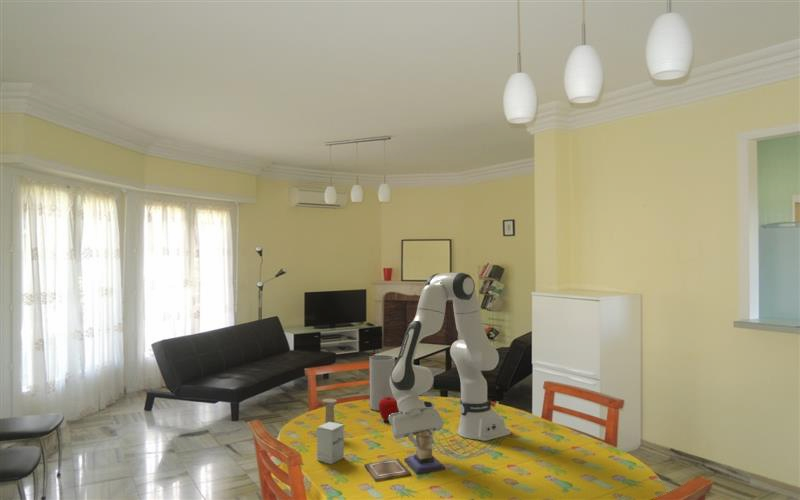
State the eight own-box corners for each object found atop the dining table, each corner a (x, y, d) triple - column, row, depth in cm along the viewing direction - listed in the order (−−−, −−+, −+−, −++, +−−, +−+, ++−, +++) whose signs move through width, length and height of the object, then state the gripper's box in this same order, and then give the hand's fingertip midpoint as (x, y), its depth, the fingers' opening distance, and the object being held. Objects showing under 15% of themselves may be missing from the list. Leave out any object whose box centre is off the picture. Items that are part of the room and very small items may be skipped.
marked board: (398, 460, 189) (398, 458, 189) (411, 475, 177) (411, 472, 177) (364, 466, 184) (364, 463, 184) (375, 481, 172) (375, 478, 172)
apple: (387, 425, 228) (387, 400, 228) (374, 420, 236) (374, 396, 236) (404, 420, 235) (403, 396, 235) (390, 415, 242) (390, 392, 242)
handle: (332, 439, 212) (331, 403, 212) (320, 436, 215) (320, 400, 215) (339, 435, 216) (339, 400, 216) (327, 432, 219) (327, 397, 219)
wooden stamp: (428, 456, 188) (427, 428, 189) (434, 461, 183) (434, 433, 183) (414, 458, 187) (413, 430, 187) (419, 464, 181) (419, 436, 181)
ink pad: (431, 456, 192) (431, 451, 192) (445, 469, 181) (445, 464, 181) (404, 461, 189) (404, 456, 189) (416, 474, 177) (416, 468, 177)
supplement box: (331, 464, 186) (331, 430, 186) (316, 460, 190) (316, 426, 190) (344, 457, 192) (344, 424, 193) (329, 453, 196) (329, 420, 196)
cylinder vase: (367, 411, 249) (367, 359, 249) (373, 403, 261) (372, 354, 261) (392, 412, 247) (392, 360, 247) (397, 404, 259) (396, 355, 259)
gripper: (389, 409, 186) (402, 445, 178) (436, 401, 196) (451, 435, 187) (384, 418, 190) (396, 454, 181) (430, 410, 200) (444, 443, 191)
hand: (424, 444), depth 184 cm, fingers closed on wooden stamp, 5 cm apart
